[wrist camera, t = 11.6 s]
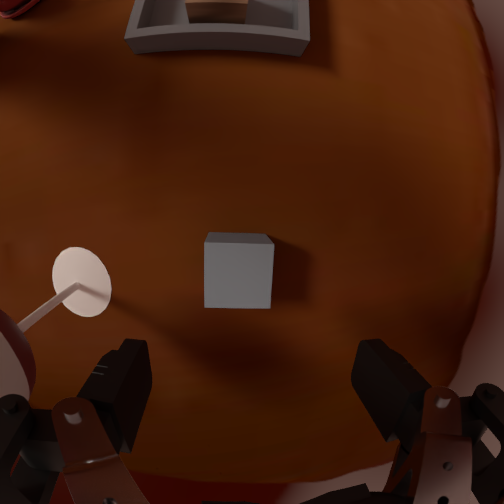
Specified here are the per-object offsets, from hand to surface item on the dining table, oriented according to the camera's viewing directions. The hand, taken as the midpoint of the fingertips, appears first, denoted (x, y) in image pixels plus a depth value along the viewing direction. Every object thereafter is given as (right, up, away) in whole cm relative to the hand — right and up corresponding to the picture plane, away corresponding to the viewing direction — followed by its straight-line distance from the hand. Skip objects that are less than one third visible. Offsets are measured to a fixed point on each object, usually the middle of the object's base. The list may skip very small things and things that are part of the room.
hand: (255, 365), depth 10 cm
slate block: (-2, +3, +16) cm, 16 cm away
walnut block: (-3, +27, +10) cm, 29 cm away
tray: (-3, +31, +10) cm, 32 cm away
